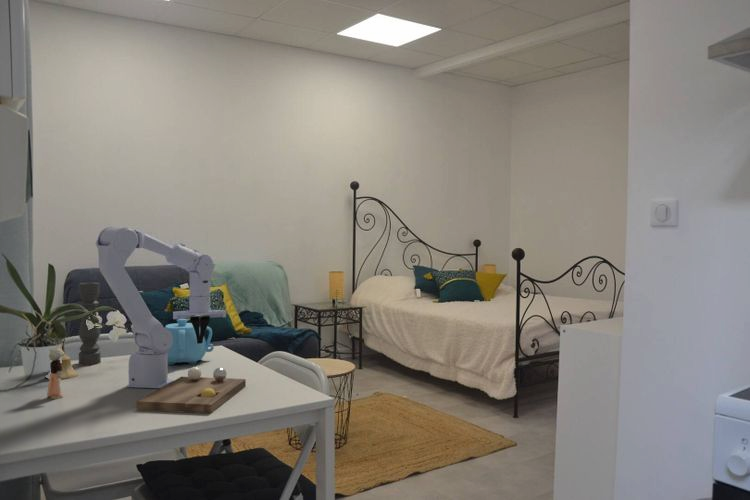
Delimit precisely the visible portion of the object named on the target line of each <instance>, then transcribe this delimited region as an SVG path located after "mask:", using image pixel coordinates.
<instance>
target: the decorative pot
mask: <svg viewBox="0 0 750 500" xmlns="http://www.w3.org/2000/svg"><path fill="white" fill-rule="evenodd" d="M176 322H177V323H168V324H166V325H165V327H164V328H165V329H167V330H168V331H170V332H171V334H172V337H173V342H172V345H171V347H170V348H169V349H168V366H173V365H176V363H188V364H189V365H194V364H197V363H198V361H199V360H200V361H201V360H202V359H203V357H204V356H206V353H211V352H213V350H214V348H215V347H214V344H213V343H211V340H212V336H213V330H212V328H211V327H210V326H209V325H208V326H207V328H206V331H208V336H207V340H206V338H205V336H204V337H203V343H200V344H197V337H196V333H195V330H194V327H193V325H192V323H191V322H188V318H183V319H176ZM199 332H200V331H199ZM209 347H211V348H209Z"/></svg>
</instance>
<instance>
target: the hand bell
mask: <svg viewBox="0 0 750 500" xmlns="http://www.w3.org/2000/svg"><path fill="white" fill-rule="evenodd" d="M65 329H66V330H67V328H66V326H65ZM65 340H66V338H65V339H64V341H63V346H62V351H63V352H64V355H63V356H62V363H61V367H62V374H61V375H62V378H61V380H62V381H63V380H68V379H72V378H76V377H77V376H78V375H79V374H78V373H77V371H75V370H74V368H73V365H72V362H71V357H70V356H68V355H67V354H66V353H65V351H66V350H65Z"/></svg>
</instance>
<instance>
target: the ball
mask: <svg viewBox="0 0 750 500" xmlns="http://www.w3.org/2000/svg"><path fill="white" fill-rule="evenodd" d="M215 396H216V394H215V391H214V390H213V389H211V388H206V389H204V390H203V391H202V393H201V397H215Z"/></svg>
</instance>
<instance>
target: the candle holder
mask: <svg viewBox="0 0 750 500" xmlns="http://www.w3.org/2000/svg"><path fill="white" fill-rule="evenodd" d="M78 285H79V286H78V288H79V291H78V292H79V293H78V294H79V295H80V298H81V299H82V301H81V302H80V303H79V305H80V306H81V307H82V306H83V307H84V308H85V309H87V310H88V311H92V310H95V309H96V310H97V307H98V305H99V301H98V300H97V299H98V297H99V296H100V295H99V294H100V282H80V283H78ZM83 307H82V308H83ZM94 315H95V316H96V317H97V312H96V313H94ZM88 318H89V317H83V316H82V318H81V322H80V326H79V330H78V337H79V339H80V340H81V343H82V344H80V347H79V351H80V352H78V365H80V366H94V365H98V364H100V363H101V362H102V361H101V360H102V359H101V358H102V354H101V353H102V352H101V351H100V348H101V347H100V345H99V344H98V343H97V342H98V339H99V338H100V336H101V329H100V325H99V326H94V328H92V329H90V330H88V328H87V325H86V319H88ZM97 323H98V324H99V321H98V322H97ZM96 327H99V328H96Z"/></svg>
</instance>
